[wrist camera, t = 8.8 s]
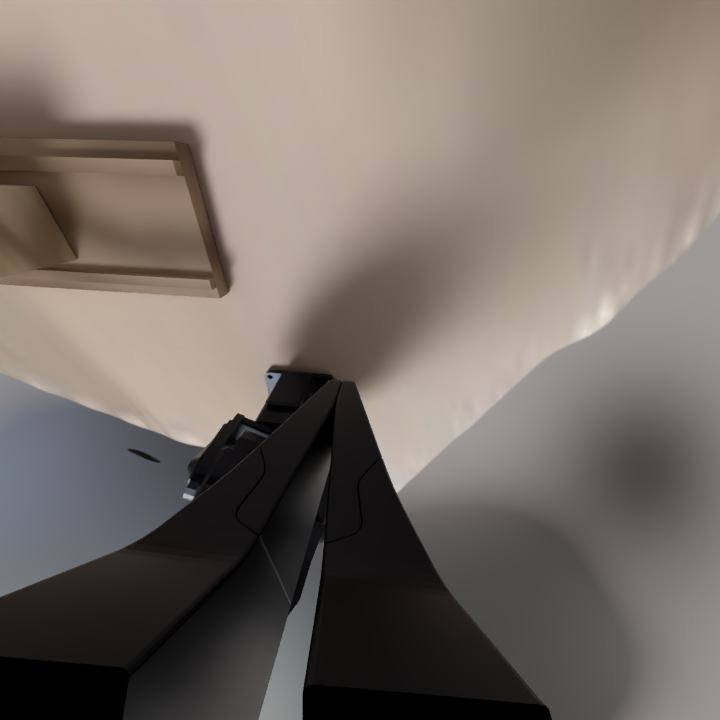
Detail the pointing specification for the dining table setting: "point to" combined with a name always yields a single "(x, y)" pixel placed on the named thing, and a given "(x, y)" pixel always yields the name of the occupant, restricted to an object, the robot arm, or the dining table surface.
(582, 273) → the dining table surface
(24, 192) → the beige slanted block
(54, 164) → the channel
